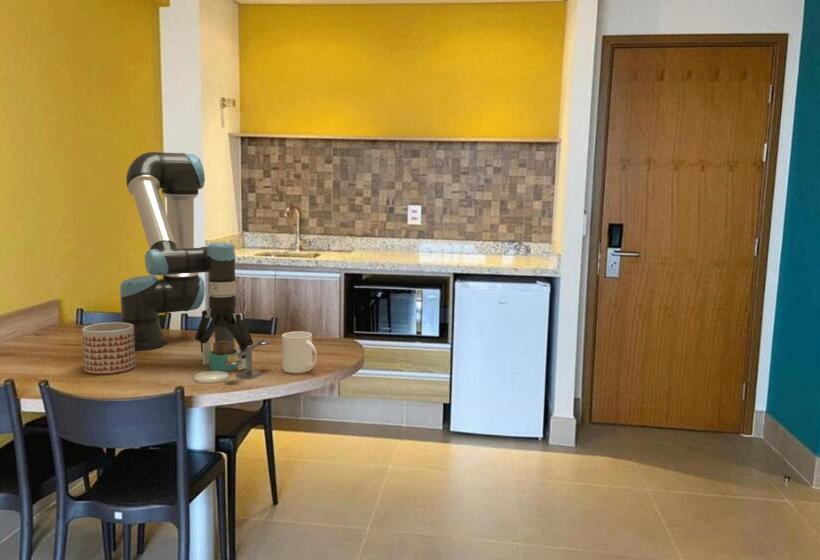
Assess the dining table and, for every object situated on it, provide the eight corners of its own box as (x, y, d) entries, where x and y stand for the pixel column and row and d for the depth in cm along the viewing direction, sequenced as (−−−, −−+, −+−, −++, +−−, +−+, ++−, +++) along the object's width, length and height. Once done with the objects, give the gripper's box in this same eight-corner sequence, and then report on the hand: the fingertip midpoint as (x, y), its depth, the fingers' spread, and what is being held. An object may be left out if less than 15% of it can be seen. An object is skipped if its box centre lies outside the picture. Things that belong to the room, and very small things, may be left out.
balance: (221, 382, 181) (220, 349, 180) (261, 367, 197) (260, 336, 196) (235, 385, 179) (234, 351, 178) (275, 369, 195) (274, 338, 194)
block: (213, 368, 196) (212, 343, 195) (223, 364, 200) (222, 340, 199) (225, 369, 194) (224, 344, 193) (235, 366, 198) (234, 341, 197)
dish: (187, 380, 183) (187, 377, 182) (209, 372, 191) (209, 369, 191) (213, 384, 179) (213, 381, 179) (234, 376, 187) (234, 373, 187)
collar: (203, 368, 195) (203, 353, 195) (222, 362, 203) (222, 347, 202) (226, 372, 192) (226, 356, 191) (244, 365, 199) (244, 350, 199)
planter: (103, 378, 185) (100, 333, 183) (74, 370, 192) (72, 327, 190) (145, 367, 196) (143, 325, 195) (117, 360, 203) (115, 320, 202)
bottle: (238, 352, 215) (236, 307, 213) (226, 356, 210) (224, 310, 208) (223, 350, 217) (222, 305, 215) (211, 354, 212) (210, 308, 210)
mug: (305, 377, 187) (305, 340, 186) (276, 370, 194) (275, 334, 193) (326, 371, 194) (326, 335, 192) (297, 364, 201) (297, 330, 199)
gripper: (181, 294, 196) (183, 364, 199) (248, 300, 186) (249, 374, 189) (198, 290, 203) (200, 358, 206) (264, 296, 193) (265, 368, 196)
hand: (224, 366), depth 197 cm, fingers open, 12 cm apart
